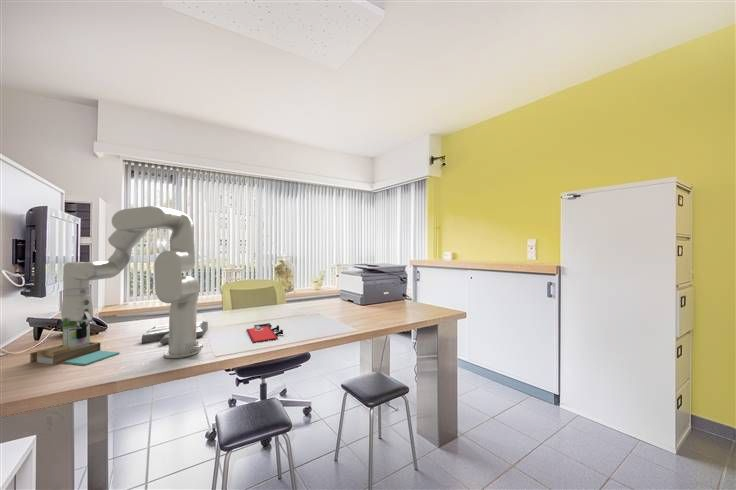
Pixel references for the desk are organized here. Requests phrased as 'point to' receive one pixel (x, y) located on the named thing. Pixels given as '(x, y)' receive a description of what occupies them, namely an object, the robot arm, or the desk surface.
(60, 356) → the tray
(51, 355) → the oak offcut
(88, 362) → the teal mat
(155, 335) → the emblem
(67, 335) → the ink box
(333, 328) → the desk surface
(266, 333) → the red board with handle
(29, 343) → the desk surface
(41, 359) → the grey offcut
